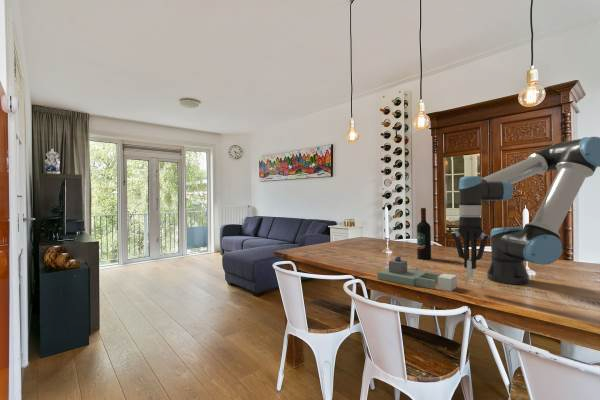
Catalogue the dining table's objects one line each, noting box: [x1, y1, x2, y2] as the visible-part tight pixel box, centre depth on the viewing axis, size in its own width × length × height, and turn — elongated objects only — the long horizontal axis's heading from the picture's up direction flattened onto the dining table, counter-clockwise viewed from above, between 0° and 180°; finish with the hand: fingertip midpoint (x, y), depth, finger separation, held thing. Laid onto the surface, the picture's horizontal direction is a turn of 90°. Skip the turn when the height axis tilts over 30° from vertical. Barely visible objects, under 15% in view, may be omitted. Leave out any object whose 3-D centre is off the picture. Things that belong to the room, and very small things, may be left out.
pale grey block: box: [437, 273, 458, 292], centre depth 123 cm, size 5×7×5 cm
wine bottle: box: [416, 207, 432, 261], centre depth 177 cm, size 8×8×30 cm
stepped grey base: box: [377, 255, 442, 290], centre depth 134 cm, size 25×14×10 cm, turn 45°
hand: (470, 276), depth 116 cm, fingers closed
